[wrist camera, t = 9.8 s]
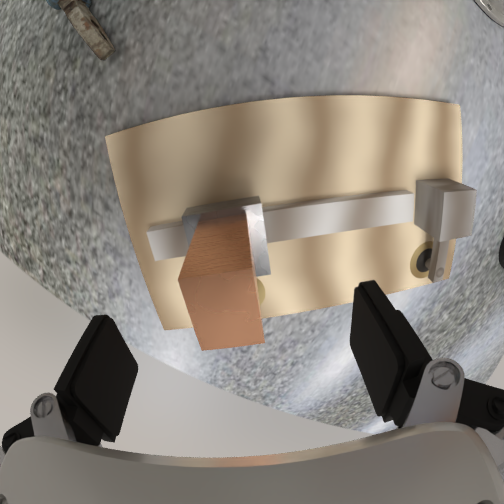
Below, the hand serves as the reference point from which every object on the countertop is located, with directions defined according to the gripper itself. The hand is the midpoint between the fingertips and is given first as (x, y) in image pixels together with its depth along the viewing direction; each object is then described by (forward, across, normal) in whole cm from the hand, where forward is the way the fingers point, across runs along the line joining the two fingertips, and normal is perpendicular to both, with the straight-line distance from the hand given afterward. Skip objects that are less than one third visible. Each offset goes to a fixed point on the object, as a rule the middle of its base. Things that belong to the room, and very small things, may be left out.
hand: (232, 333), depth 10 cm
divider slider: (+12, +1, +3) cm, 12 cm away
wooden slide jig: (+14, -6, +1) cm, 15 cm away
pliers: (+14, +11, -23) cm, 29 cm away
